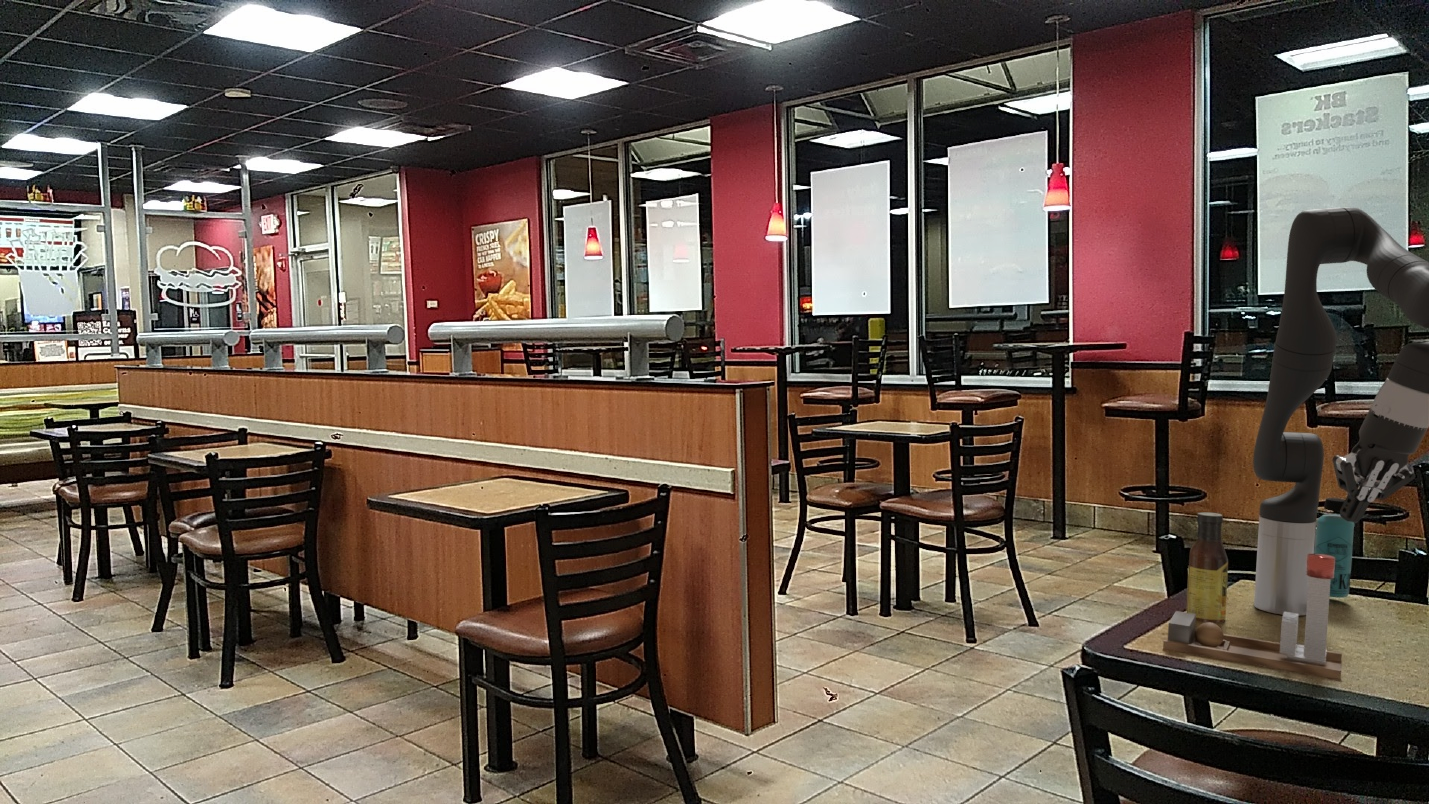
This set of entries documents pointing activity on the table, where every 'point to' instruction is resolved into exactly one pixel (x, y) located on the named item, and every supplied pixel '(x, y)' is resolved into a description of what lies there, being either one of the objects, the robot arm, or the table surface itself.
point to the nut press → (1243, 649)
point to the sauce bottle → (1208, 571)
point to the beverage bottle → (1336, 546)
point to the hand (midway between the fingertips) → (1348, 519)
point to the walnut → (1209, 634)
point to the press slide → (1311, 615)
